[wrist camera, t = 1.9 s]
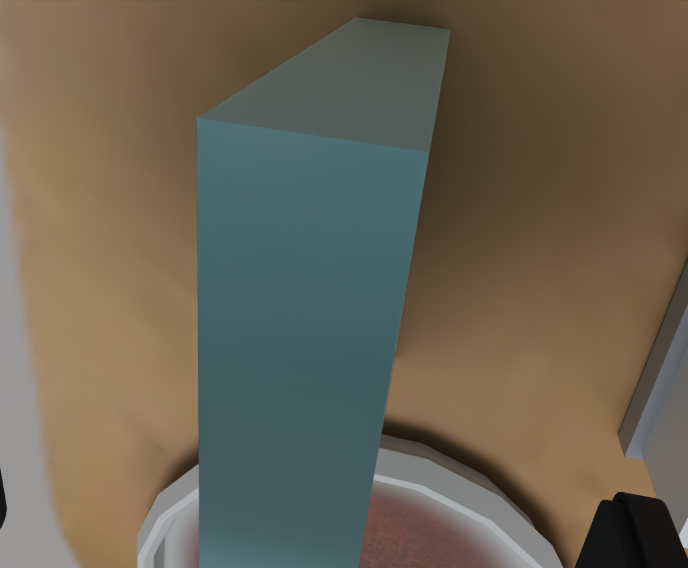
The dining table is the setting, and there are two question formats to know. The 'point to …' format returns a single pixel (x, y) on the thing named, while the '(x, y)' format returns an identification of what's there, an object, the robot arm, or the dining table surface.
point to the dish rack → (664, 412)
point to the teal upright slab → (307, 289)
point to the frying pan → (386, 518)
